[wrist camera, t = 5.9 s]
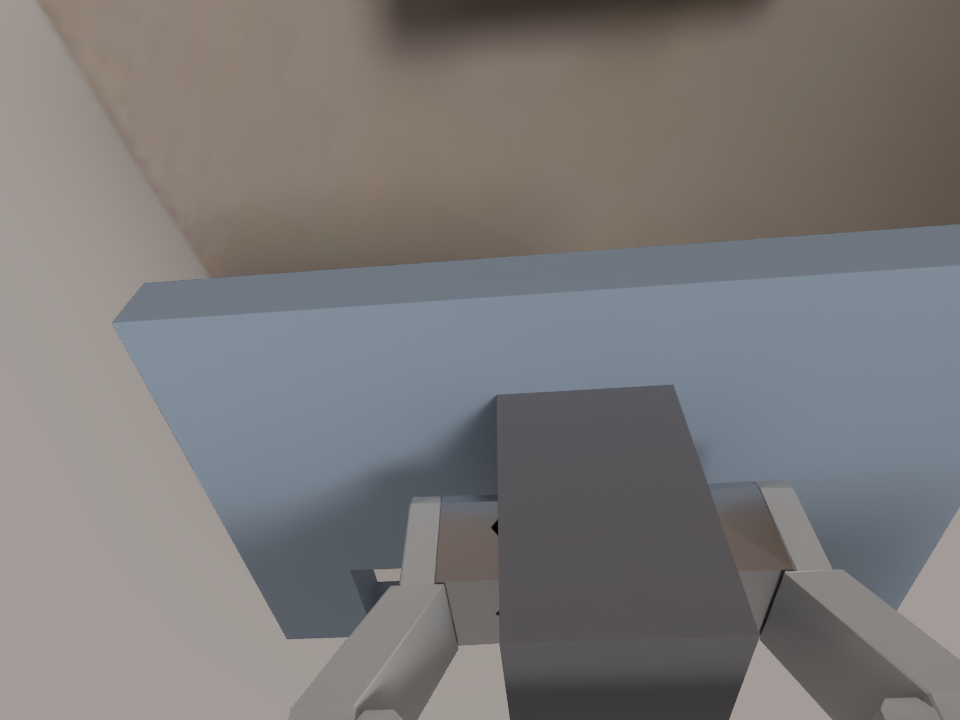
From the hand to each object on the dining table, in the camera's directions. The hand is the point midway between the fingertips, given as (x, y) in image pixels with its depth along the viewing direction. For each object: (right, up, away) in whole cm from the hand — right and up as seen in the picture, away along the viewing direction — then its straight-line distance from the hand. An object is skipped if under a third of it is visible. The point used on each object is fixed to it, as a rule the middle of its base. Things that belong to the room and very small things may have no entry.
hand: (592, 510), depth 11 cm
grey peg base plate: (0, 0, +3) cm, 3 cm away
